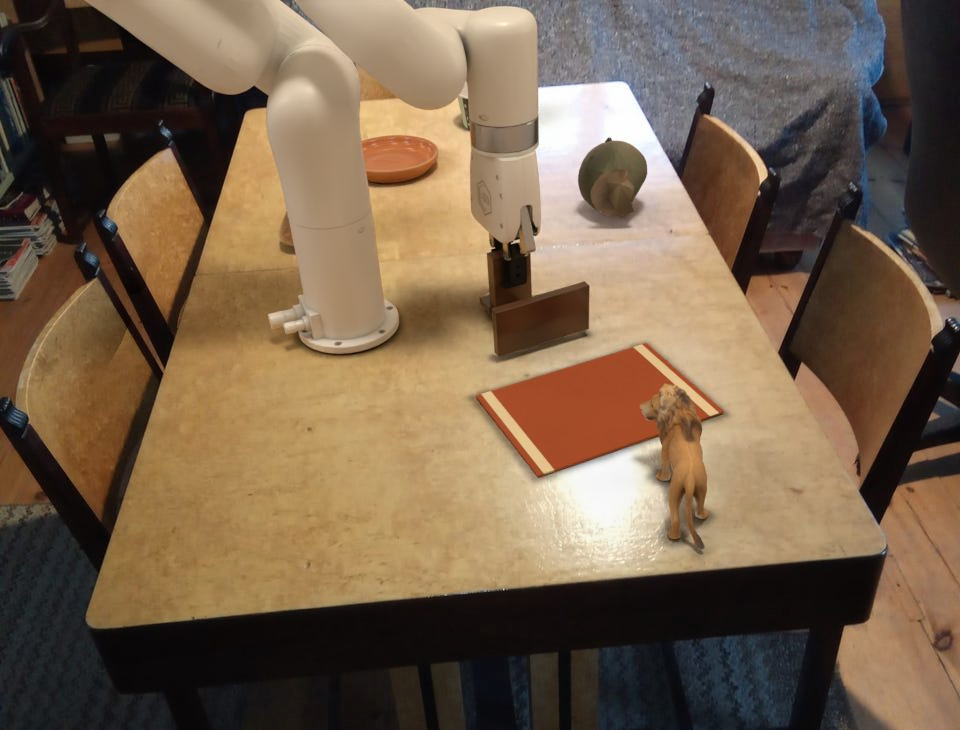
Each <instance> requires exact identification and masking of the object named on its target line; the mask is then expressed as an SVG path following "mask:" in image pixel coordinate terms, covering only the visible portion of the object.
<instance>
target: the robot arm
mask: <svg viewBox="0 0 960 730" xmlns="http://www.w3.org/2000/svg"><path fill="white" fill-rule="evenodd" d="M83 1H84V2H86V3H87V4H88V5H90V6H91V7H93V8H94V9H96V10H97V11H99V12H101V13H102V14H103V15H105V16H106V17H107V18H109V19H110V20H112V21H113V22H115V23H116V24H118V25H119V26H121V27H122V28H123V29H125V30H126V31H127V32H128V33H130V34H131V35H133V36H134V37H135V38H136V39H137V40H139V41H140V42H142V43H143V44H145V46H147V47H149V48H150V49H151V50H153V51H154V52H155V53H157V54H159V55H160V56H162V57H163V58H164V59H166V60H167V61H169V62H170V63H171V64H173V65H174V66H175V67H177V68H178V69H180V70H181V71H183V72H184V73H185V74H187V75H188V76H190V77H191V78H192V79H194V80H195V81H196V82H198V83H199V84H200V85H203V86H204V87H205V88H208V89H209V90H211V91H213V92H215V93H219V94H223V95H229V96H230V95H232V96H233V95H238V94H241V93H245V92H247V91H248V90H250V89H251V88H253V87H255V88H257V89H258V90H260V91H261V92H263V93H264V94H265V95H267V96H268V97H267V101H266V102H267V103H266V109H265V126H266V134H267V138H268V143H269V147H270V150H271V153H272V157H273V160H274V163H275V166H276V169H277V170H276V171H277V173H278V177H279V182H280V186H281V190H282V194H283V199H284V204H285V209H286V210H287V215H288V218H289V223H290V228H291V233H292V238H293V243H294V247H293V248H294V253H295V258H296V263H297V268H298V274H299V277H300V284H301V288H302V294H298V296H297V298H298V302H299V303H297V304H293V305H292V308H289V309H285V310H279V311H275V312H271V313H268V314H267V319H268V323H269V326H270V328H271V330H276V329H280V328H283V329H284V333H285V335H286V336H287V335H290V334H294V333H298V337H299V339H300V340H301V342H302V343H303V344H304V345H306V346H307V347H308V348H310V349H312V350H315V351H318V352H321V353H327V354H336V355H343V354H344V355H345V354H352V353H359V352H364V351H367V350H370V349H373V348H375V347H378V346H379V345H381V344H383V343H385V342H386V341H388V340H389V339H390V338H392V336H394V334H395V333H396V332H397V330H398V328H399V325H400V314H399V311H398V309H397V307H396V305H394V304H393V303H392V302H391V301H389V300H387V299H385V297H384V296H385V295H384V290H383V282H382V274H381V269H380V268H381V267H380V260H379V252H378V245H377V237H376V229H375V223H374V222H375V221H374V214H373V207H372V203H371V195H370V188H369V181H368V180H367V173H366V167H365V161H364V155H363V149H362V142H361V141H362V133H361V120H360V118H361V117H360V115H361V114H360V113H361V98H362V85H361V77H360V74H359V71H358V68H360V69H361V70H362V71H363V72H364V73H366V74H367V75H368V76H370V77H371V78H372V79H373V80H374V81H376V82H377V83H378V84H380V85H381V86H382V88H385V89H386V90H387V91H388V92H389V93H391V94H392V95H393V96H395V97H396V98H397V99H398V100H400V101H402V102H403V103H405V104H407V105H409V106H411V107H413V108H416V109H419V110H423V111H435V110H440V109H443V108H445V107H448V106H449V105H450V104H452V103H453V102H455V101H456V100H457V99H458V96H459V94H460V93H461V91H462V89H463V87H464V84H465V81H466V82H467V88H468V104H469V123H470V130H469V139H470V161H469V162H470V163H469V189H470V190H469V191H470V193H469V194H470V195H469V196H470V213H471V215H472V216H473V218H474V219H475V220H476V222H477V223H478V224H480V226H482V227H483V228H484V230H486V231H487V232H488V238H489V239H488V241H489V242H488V243H489V245H490V247H491V249H490V250H491V251H490V252H493V251H497V250H500V249H503V256H504V257H503V258H500V260H501V283H502V287H503V288H504V289H508V288H512V287H516V286H519V285H523V284H525V283H526V282H527V256H528V253H535V252H536V251H537V248H536V242H535V237H537V236H538V235H539V234H540V231H541V226H542V200H541V199H542V198H541V186H540V185H541V184H540V174H539V165H538V164H539V163H538V157H537V151H536V150H537V149H538V147H539V145H540V127H539V122H540V121H539V117H540V116H539V47H538V45H539V44H538V43H539V41H538V37H539V36H538V35H539V34H538V23H537V20H536V18H535V16H534V14H533V13H532V12H531V11H529V10H528V9H526V8H522V7H518V6H511V5H510V6H508V5H501V6H500V5H499V6H490V7H484V8H482V9H478V10H468V9H453V8H446V7H445V8H444V7H442V8H441V7H432V6H431V7H419V8H415V9H414V8H413V7H412V6H411V5H410V4H409V3H407V2H406V1H405V0H293V1H294V2H295V4H296V5H297V6H298V7H299V9H300V10H301V11H302V12H303V13H304V14H305V15H306V16H307V18H309V19H310V20H311V21H312V22H313V23H314V24H315V25H316V26H317V27H318V28H319V29H318V28H317V27H315V26H314V25H313V24H311V23H310V22H309V21H307V20H306V19H305V18H304V17H302V16H301V15H300V14H298V13H297V12H296V11H295V10H293V9H292V8H291V7H289V6H288V5H287V4H286V3H284V2H283V1H282V0H83ZM356 65H357V66H356ZM357 67H358V68H357ZM518 240H519V241H518ZM515 241H518V242H515Z"/></svg>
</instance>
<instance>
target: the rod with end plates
mask: <svg viewBox="0 0 960 730" xmlns="http://www.w3.org/2000/svg"><path fill="white" fill-rule="evenodd" d="M503 257H504V256H503V249H500V250H497V251H493V252H491V251H490V252H486V263H487V278H488V293H489V294H486V295H483V296H479V299H478V300H479V305H480V306H481V307H482V308H483V309H484V311H486V312H487V314H488V315H490V316H491V319H492V335H493V337H492V338H493V350H494V354H495V355H496V356H497V357H498V358H501V357H504V356H507V355H510V354H514V353H517V352H520V351H523V350H527V349H530V348H534V347H536V346H539V345H542V344H546V343H549V342H552V341H556V340H560V339H562V338H565V337H569V336H571V335H575V334H578V333H581V332H584V331H588V330H590V285H589V283H588V282H586V281H581V282H578V283H574V284H570V285H567V286H563V287H560V288H556V289H553V290H550V291H547V292H543V293H540V294H536V295H533V286H532V284H533V283H532V259H531V258H532V257H531V253H528V256H527V282H526V283H525V284H523V285H519V286H516V287H512V288H508V289H504V288H503V287H502V283H501V260H500V258H503Z"/></svg>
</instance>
